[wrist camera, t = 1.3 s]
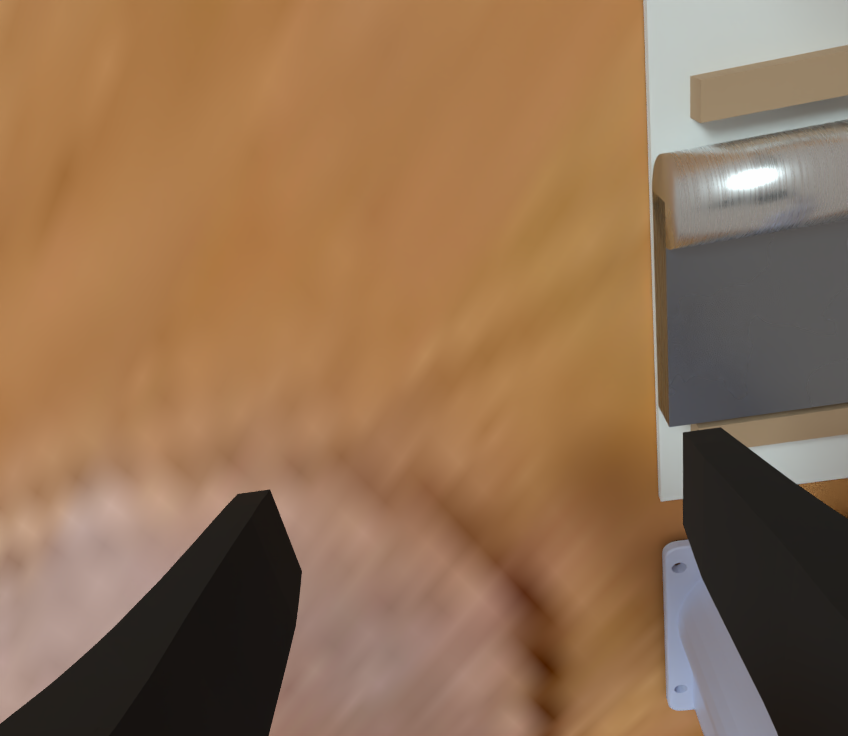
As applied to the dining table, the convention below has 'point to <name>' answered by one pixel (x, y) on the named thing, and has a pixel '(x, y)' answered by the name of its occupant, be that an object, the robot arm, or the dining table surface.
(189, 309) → the dining table surface
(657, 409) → the hinge jig
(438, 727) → the dining table surface
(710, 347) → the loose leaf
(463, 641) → the dining table surface
